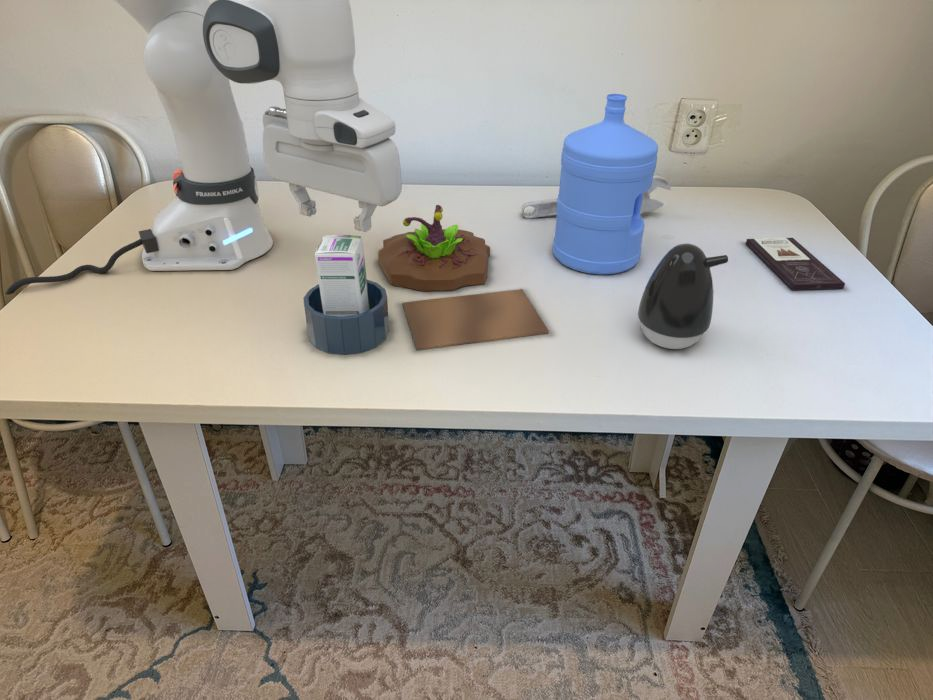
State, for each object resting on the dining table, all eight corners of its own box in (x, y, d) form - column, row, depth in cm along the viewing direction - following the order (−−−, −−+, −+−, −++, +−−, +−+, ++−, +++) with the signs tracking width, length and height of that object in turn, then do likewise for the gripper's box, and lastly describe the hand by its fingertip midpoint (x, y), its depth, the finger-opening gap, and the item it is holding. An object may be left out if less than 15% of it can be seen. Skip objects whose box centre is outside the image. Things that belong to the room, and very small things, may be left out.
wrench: (522, 227, 137) (666, 210, 137) (523, 231, 136) (669, 214, 135) (519, 191, 133) (669, 173, 132) (521, 194, 131) (671, 176, 131)
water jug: (568, 280, 113) (587, 111, 97) (541, 241, 126) (554, 86, 110) (653, 272, 116) (685, 107, 100) (618, 235, 128) (642, 82, 112)
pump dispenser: (706, 364, 93) (732, 267, 84) (631, 352, 95) (649, 256, 87) (705, 326, 101) (729, 235, 93) (636, 316, 103) (652, 226, 95)
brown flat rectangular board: (416, 350, 95) (416, 347, 95) (402, 305, 106) (402, 302, 105) (548, 333, 99) (548, 330, 99) (522, 291, 110) (522, 289, 109)
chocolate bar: (793, 285, 110) (746, 238, 125) (792, 290, 111) (745, 243, 125) (845, 283, 111) (792, 237, 126) (843, 288, 111) (791, 242, 126)
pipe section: (310, 359, 93) (305, 323, 90) (307, 316, 102) (302, 282, 99) (394, 348, 95) (392, 313, 92) (383, 307, 105) (380, 274, 101)
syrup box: (366, 342, 97) (357, 252, 88) (325, 342, 97) (313, 251, 88) (371, 322, 101) (364, 234, 93) (333, 321, 101) (322, 233, 93)
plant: (381, 295, 108) (377, 232, 102) (376, 244, 124) (372, 186, 117) (502, 288, 110) (505, 225, 104) (482, 238, 126) (483, 181, 120)
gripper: (243, 109, 83) (261, 213, 91) (374, 136, 75) (381, 248, 82) (279, 98, 87) (293, 198, 95) (406, 123, 79) (410, 230, 87)
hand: (335, 222), depth 89 cm, fingers open, 8 cm apart
